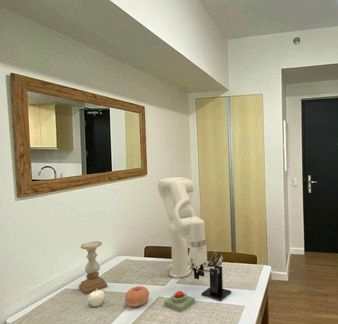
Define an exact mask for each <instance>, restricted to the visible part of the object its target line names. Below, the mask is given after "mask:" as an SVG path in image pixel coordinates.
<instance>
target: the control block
mask: <svg viewBox="0 0 338 324" xmlns="http://www.w3.org/2000/svg"><path fill="white" fill-rule="evenodd" d="M195 299H196V298H195V297H192V296H189V295H187V293H186V292H183V297H182V298H176V295H175V293H174V294H172V295H171V296H170V297H169V298H167V299H165V300H164V301H163V303H164V305H163V306H165V307H168V308H170V309H174V310H176V311H178V312H183V311H185V310H186V309H188V308H189V307H190V306H192V305H193V304H195V301H196V300H195Z"/></svg>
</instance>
